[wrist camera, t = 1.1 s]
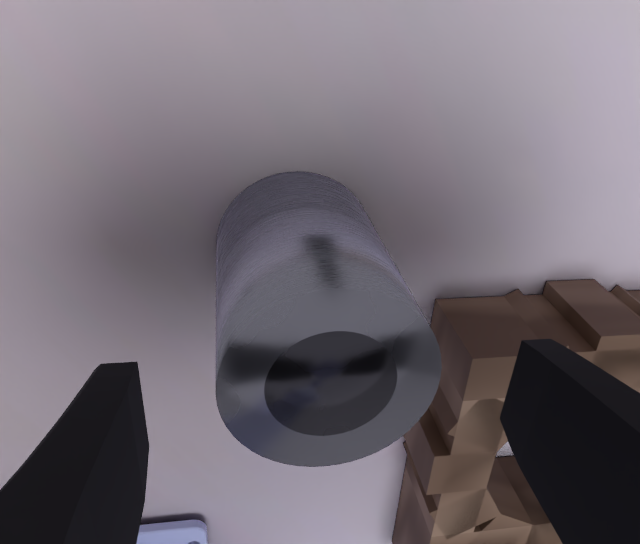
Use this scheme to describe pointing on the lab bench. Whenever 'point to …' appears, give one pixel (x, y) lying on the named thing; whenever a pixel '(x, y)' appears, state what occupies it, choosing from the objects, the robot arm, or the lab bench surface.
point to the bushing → (315, 327)
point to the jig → (500, 408)
